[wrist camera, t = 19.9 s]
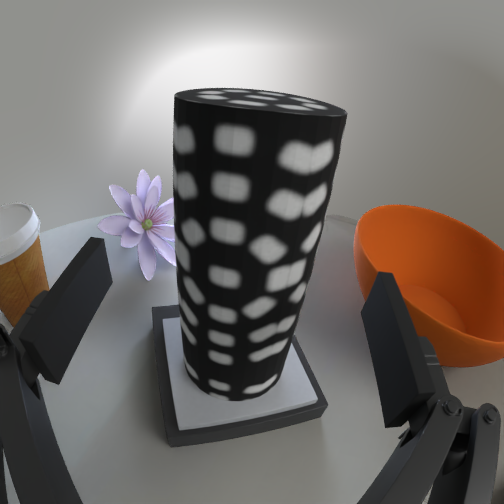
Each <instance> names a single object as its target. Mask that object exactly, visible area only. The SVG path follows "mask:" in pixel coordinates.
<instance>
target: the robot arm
mask: <svg viewBox="0 0 504 504" xmlns="http://www.w3.org/2000/svg"><path fill="white" fill-rule="evenodd" d="M112 283H113V281H112V277H111V272H110V268H109V263H108V258H107V253H106V248H105V242H104V239H103V238H95V237H90V239H89V240H88V241H87V242H86V243H85V245H84V246H83V247H82V248H81V250H80V251H79V252H78V253H77V255H76V256H75V257H74V259H73V260H72V261H71V262H70V264H69V265H68V266H67V268H66V269H65V270H64V272H63V273H62V274H61V276H60V277H59V278H58V280H57V281H56V282H55V284H54V285H53V286H52V288H51V289H50V291H46V290H43V291H42V292H41V293H39V294H38V295H37V296H36V297H35V298H34V299H33V301H32V302H31V303H30V305H29V307H28V308H27V309H26V311H25V313H23V315H22V316H21V318H20V319H19V321H18V322H17V324H16V325H15V327H14V328H13V330H12V332H11V333H10V335H9V334H8V332H7V330H6V329H5V327H4V326H3V325H2V324H0V504H8V500H7V493H6V484H5V474H4V462H3V449H4V453H5V457H6V461H7V464H8V468H9V471H10V475H11V478H12V481H13V484H14V487H15V490H16V493H17V496H18V499H19V501H20V504H83V503H82V501H81V499H80V497H79V494H78V492H77V490H76V488H75V486H74V484H73V481H72V479H71V477H70V474H69V472H68V470H67V467H66V465H65V462H64V460H63V457H62V454H61V452H60V449H59V446H58V444H57V441H56V438H55V435H54V432H53V429H52V426H51V423H50V420H49V416H48V413H47V409H46V406H45V402H44V399H43V395H42V391H41V387H40V383H39V381H38V379H37V376H38V374H39V372H40V373H41V374H42V376H43V377H44V379H45V380H47V381H50V382H53V383H55V384H58V385H59V384H60V382H61V380H62V378H63V375H64V373H65V371H66V369H67V367H68V365H69V363H70V361H71V359H72V357H73V355H74V353H75V351H76V349H77V347H78V345H79V343H80V341H81V339H82V337H83V335H84V333H85V331H86V329H87V328H88V326H89V324H90V322H91V320H92V318H93V316H94V315H95V313H96V311H97V309H98V307H99V305H100V304H101V302H102V300H103V298H104V297H105V295H106V293H107V291H108V290H109V288H110V286H111V284H112ZM361 315H362V319H363V323H364V327H365V331H366V335H367V340H368V344H369V348H370V353H371V357H372V362H373V366H374V371H375V376H376V380H377V385H378V390H379V396H380V401H381V406H382V412H383V417H384V423H385V428H390V427H401V426H402V425H403V424H405V423H406V422H407V421H408V420H409V425H410V427H409V428H408V429H407V430H406V431H405V432H403V433H402V434H401V435H400V436H399V437H398V438H399V439H401V438H402V439H401V441H400V442H399V444H398V446H397V447H396V449H395V450H394V452H393V454H392V455H391V457H390V458H389V460H388V461H387V463H386V464H385V466H384V467H383V469H382V470H381V472H380V473H379V475H378V476H377V477H376V479H375V480H374V482H373V483H372V484H371V486H370V487H369V489H368V490H367V491H366V493H365V494H364V495H363V496H362V498H361V499H360V500H359V502H358V503H357V504H422V502H423V501H424V499H425V497H426V495H427V494H428V492H429V490H430V488H431V486H432V484H433V487H432V490H431V494H430V497H429V500H428V504H491V499H492V494H493V488H494V482H495V476H496V469H497V461H498V451H499V440H500V424H501V419H500V414H499V411H498V410H497V408H496V407H495V406H494V405H492V404H489V403H486V404H483V405H482V406H481V407H479V408H478V409H473V408H469V407H464V406H463V405H462V403H461V402H460V400H459V399H458V398H457V397H455V396H453V395H450V392H449V390H448V386H447V383H446V380H445V377H444V374H443V371H442V369H441V366H440V365H439V364H440V363H439V360H438V357H436V356H437V355H436V352H435V349H434V347H433V345H432V343H431V342H430V341H429V340H428V338H427V337H424V336H418V335H417V332H416V330H415V327H414V324H413V322H412V319H411V317H410V314H409V311H408V309H407V306H406V304H405V301H404V299H403V297H402V294H401V292H400V289H399V287H398V285H397V282H396V280H395V278H394V275H393V273H390V272H381V271H378V274H377V276H376V279H375V281H374V283H373V286H372V288H371V291H370V293H369V295H368V298H367V300H366V302H365V304H364V307H363V309H362V311H361Z"/></svg>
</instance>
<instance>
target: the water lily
mask: <svg viewBox="0 0 504 504" xmlns="http://www.w3.org/2000/svg"><path fill="white" fill-rule="evenodd" d="M109 188H110V192H111V194H112V197H113V199H114V200H115V202H116V204H117V205H118V207H119V208H120V209H121V210H122V211H123V212H124V213H125V214H126V215H127V216H128V217H126V216H121V215H114V216H109V217H106V218H104V219H103V220H102V221H100V222H99V224H98V226H97V227H98V228H99V229H100V230H101V231H103V232H105V233H107V234H110V235H115V236H121V246H123V247H126V248H131V247H135V246H136V245H137V244H138V259H139V264H140V267H141V270H142V272H143V274H144V276H145V278H146V279H147V280H148V281H149V280H151V279H152V277H153V275H154V273H155V269H156V254H155V250H154V248H155V249H156V251H157V252H158V253H159V254H160V255H161V256H162V257H163V258H164V259H166V260H167V261H168V262H170V263H171V264H172V265H174V266H176V254H175V250H174V249H173V248H172V247H171V246H170V244H168V243H167V242H166V241H165V240H164V239H166V240H169V241H172V242H175V233H174V226H172V225H166V224H167V223H164V222H167V221H169V220H171V219H172V218H174V200H173V198H170V199H169V200H167V201H166V202H164V203H163V204H162V205H161V206H160V207H158V208H157V209H156V211H155V212H154V210H155V208H156V206H157V204H158V202H159V198H160V195H161V189H162V183H161V179H160V176H159V175H158V176H156V177H155V178H154V179H153V180H152V182H150V178H149V176H148V174H147V172H146V171H145V170H141V171H140V173H139V176H138V180H137V187H136V195H134V194H132V195H130V194H129V193H128V192H127V191H126V190H124V189H123V188H122V187H120V186H117V185H110V187H109ZM153 212H154V213H153ZM152 214H153V215H152ZM151 215H152V216H151ZM149 218H150V219H149ZM159 223H162V224H159ZM158 235H159V236H158ZM161 237H162V238H164V239H162V238H161Z"/></svg>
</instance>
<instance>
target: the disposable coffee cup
mask: <svg viewBox="0 0 504 504" xmlns="http://www.w3.org/2000/svg"><path fill="white" fill-rule="evenodd" d="M39 227H40V218H39V216H38V215H37V214H36V213H35V212H34V210H33V209H32V207H31V206H30V205H29V204H26V203H20V202H18V203H17V202H16V203H9V204H5V205H1V206H0V309H1V311H2V312H3V313H4V315H5V316H6V318H7V319H8V320H9V322H10V323H11V325H12V326H13V327H15V325H16V324H17V322H18V321H19V319H20V318H21V316H22V315H23V313H25V311H26V309H27V308H28V307H29V305H30V303H31V302H32V301H33V299H34V298H35V297H36V296H37V295H38V294H39V293H41V292H42V291H43V290H46V291H50V290H49V286H48V282H47V277H46V272H45V267H44V262H43V256H42V251H41V245H40V239H39Z"/></svg>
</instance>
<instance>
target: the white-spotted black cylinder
mask: <svg viewBox="0 0 504 504" xmlns="http://www.w3.org/2000/svg"><path fill="white" fill-rule="evenodd" d="M346 119H347V112H346V111H345V110H343V109H341V108H339V107H337V106H334V105H331V104H328V103H325V102H322V101H318V100H314V99H311V98H306V97H301V96H297V95H291V94H286V93H279V92H272V91H264V90H253V89H239V88H205V89H193V90H186V91H182V92H178V93H176V94H175V97H174V131H173V200H174V233H175V254H176V272H177V287H178V300H179V313H180V324H181V334H182V344H183V354H184V362H185V368H186V371H187V374H188V376H189V377H190V379H191V380H192V382H193V383H194V384H195V385H196V386H197V387H198V388H199V389H200V390H202V391H203V392H205V393H206V394H208V395H210V396H213V397H215V398H218V399H221V400H226V401H246V400H251V399H254V398H257V397H260V396H262V395H263V394H265V393H267V392H268V391H269V390H271V389H272V388H273V387H274V386H275V385H276V383H277V382H278V380H279V379H280V377H281V374H282V371H283V368H284V365H285V362H286V359H287V356H288V352H289V349H290V346H291V343H292V339H293V336H294V333H295V329H296V326H297V323H298V319H299V316H300V312H301V309H302V305H303V302H304V298H305V295H306V291H307V287H308V284H309V280H310V276H311V273H312V269H313V265H314V261H315V257H316V254H317V250H318V246H319V242H320V238H321V234H322V230H323V226H324V221H325V217H326V213H327V209H328V204H329V200H330V196H331V191H332V187H333V182H334V177H335V173H336V169H337V164H338V159H339V154H340V149H341V145H342V139H343V134H344V129H345V124H346Z"/></svg>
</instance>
